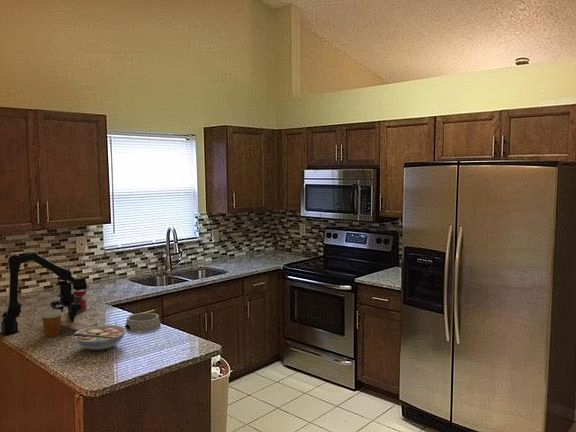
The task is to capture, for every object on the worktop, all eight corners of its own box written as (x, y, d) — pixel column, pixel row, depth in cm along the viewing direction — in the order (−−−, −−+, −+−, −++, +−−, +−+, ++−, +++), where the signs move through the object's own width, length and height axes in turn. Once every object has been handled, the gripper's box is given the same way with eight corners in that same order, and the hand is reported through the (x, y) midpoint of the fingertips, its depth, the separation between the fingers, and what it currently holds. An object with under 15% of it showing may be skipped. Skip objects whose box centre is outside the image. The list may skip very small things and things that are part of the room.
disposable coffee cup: (42, 333, 247) (41, 309, 246) (63, 330, 251) (62, 307, 250) (41, 339, 238) (40, 315, 237) (62, 336, 242) (61, 312, 241)
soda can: (72, 312, 284) (71, 291, 283) (74, 308, 291) (73, 288, 290) (86, 311, 286) (85, 290, 285) (87, 307, 293) (86, 288, 292)
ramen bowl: (138, 341, 235) (137, 324, 234) (110, 359, 213) (110, 340, 212) (91, 337, 241) (91, 321, 240) (60, 354, 219) (59, 336, 218)
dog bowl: (149, 319, 271) (148, 309, 271) (166, 326, 259) (166, 316, 258) (119, 326, 259) (119, 316, 259) (136, 334, 246) (136, 323, 246)
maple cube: (65, 326, 258) (65, 315, 258) (58, 324, 261) (57, 313, 261) (75, 323, 263) (75, 312, 263) (68, 321, 266) (67, 310, 266)
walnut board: (77, 334, 246) (77, 330, 246) (61, 330, 252) (61, 326, 252) (97, 327, 256) (97, 323, 256) (82, 323, 262) (81, 320, 262)
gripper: (90, 291, 263) (91, 319, 264) (67, 287, 272) (68, 314, 274) (71, 295, 253) (73, 325, 255) (49, 291, 263) (50, 319, 264)
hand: (66, 321), depth 262 cm, fingers open, 9 cm apart
